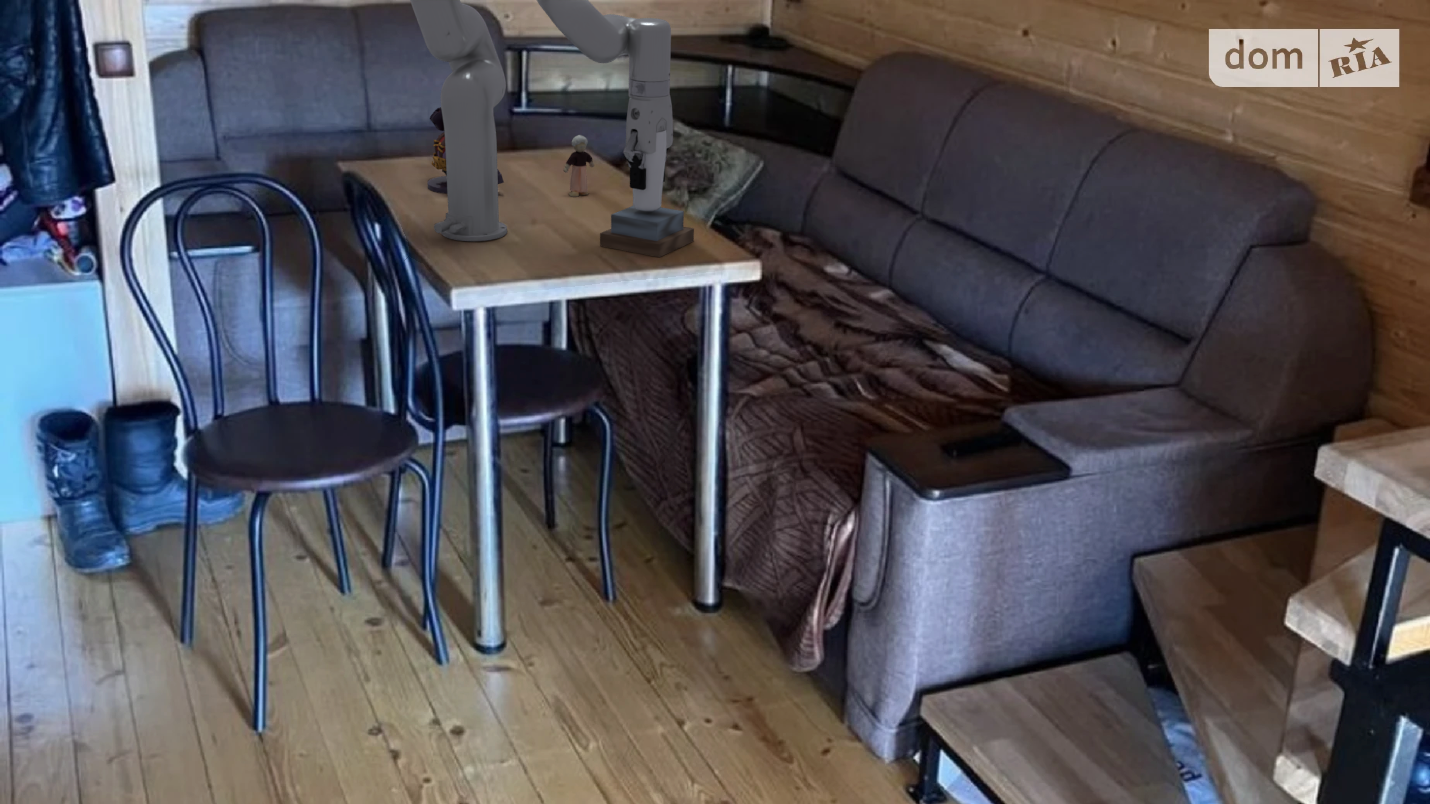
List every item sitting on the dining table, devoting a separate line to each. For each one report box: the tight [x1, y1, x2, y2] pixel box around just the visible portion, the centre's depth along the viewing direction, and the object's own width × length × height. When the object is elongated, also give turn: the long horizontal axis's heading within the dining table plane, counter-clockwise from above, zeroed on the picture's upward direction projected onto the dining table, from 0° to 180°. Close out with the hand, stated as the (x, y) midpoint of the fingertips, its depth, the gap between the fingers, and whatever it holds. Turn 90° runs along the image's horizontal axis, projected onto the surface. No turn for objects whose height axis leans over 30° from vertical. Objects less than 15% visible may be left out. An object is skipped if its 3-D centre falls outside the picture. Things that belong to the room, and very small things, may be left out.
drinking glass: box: [632, 130, 667, 211], centre depth 268 cm, size 7×7×15 cm
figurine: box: [427, 106, 505, 195], centre depth 306 cm, size 20×14×17 cm
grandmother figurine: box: [563, 134, 595, 198], centre depth 304 cm, size 8×4×13 cm, turn 143°
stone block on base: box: [599, 205, 695, 258], centre depth 273 cm, size 13×13×6 cm
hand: (647, 184), depth 269 cm, fingers closed on drinking glass, 6 cm apart
